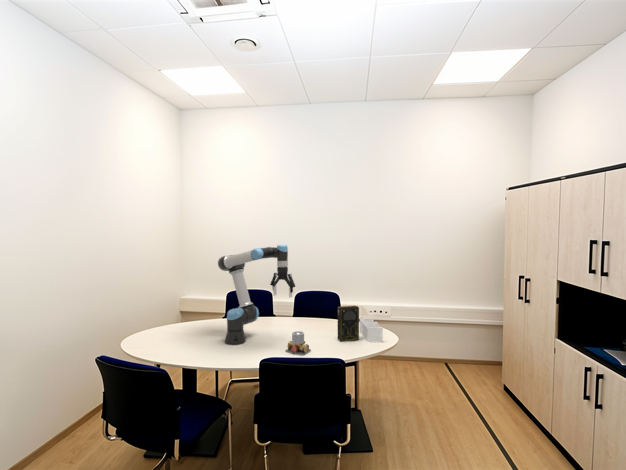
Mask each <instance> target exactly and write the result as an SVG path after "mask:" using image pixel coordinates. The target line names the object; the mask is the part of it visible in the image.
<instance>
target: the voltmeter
mask: <svg viewBox="0 0 626 470" xmlns="http://www.w3.org/2000/svg"><path fill="white" fill-rule="evenodd" d="M337 339H338V340H339V342H341V343H342V342H352V341H353V342H355V341H359V340H360V307H359V306H357V305H343V306H341V305H340V306H337Z"/></svg>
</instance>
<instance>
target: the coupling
mask: <svg viewBox="0 0 626 470" xmlns="http://www.w3.org/2000/svg"><path fill="white" fill-rule="evenodd" d="M296 332H300V333H301V334H296ZM291 341H292V343H294V344H302V343H304V341H305V332H304V331H301V330H299V331H292V333H291Z"/></svg>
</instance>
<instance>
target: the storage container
mask: <svg viewBox="0 0 626 470" xmlns="http://www.w3.org/2000/svg"><path fill="white" fill-rule="evenodd" d="M383 330H384V328H383V326H380V325H379V322H377V321H374V318H359V334H361V336H362V337H363V338H364V340H365V341H366V342H367V343H368V342H371V343H383V342H384V341H383V340H384V339H383V337H384V336H383V332H384V331H383Z"/></svg>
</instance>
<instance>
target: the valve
mask: <svg viewBox="0 0 626 470" xmlns="http://www.w3.org/2000/svg"><path fill="white" fill-rule="evenodd" d="M295 332H296V331H295ZM296 334H301V333H300V332H296ZM311 351H312V349H310V345H309V344H308V343H306V340H304V343H302V344H294V343H292V340H290V341H289V340H288V343H287V349H286V350H285V352H286V353H289V354H294V355H298V356H301V357H302V356H305V355H306V354H308V353H310V352H311Z"/></svg>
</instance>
